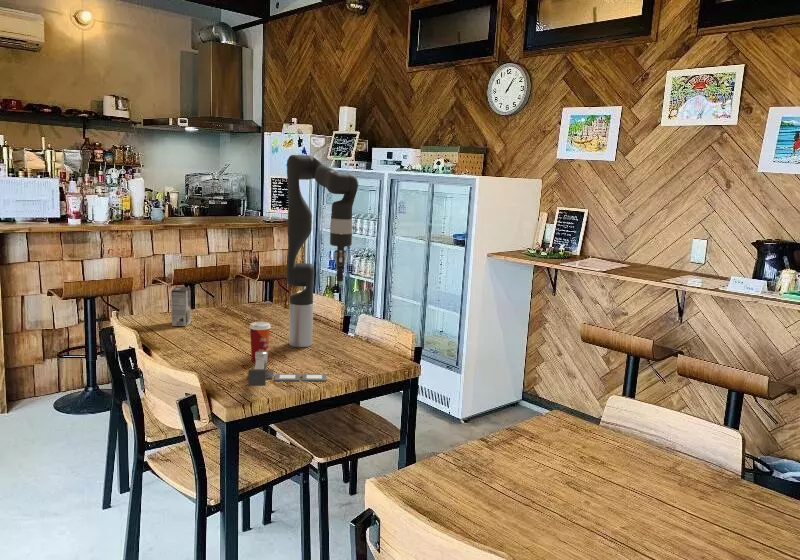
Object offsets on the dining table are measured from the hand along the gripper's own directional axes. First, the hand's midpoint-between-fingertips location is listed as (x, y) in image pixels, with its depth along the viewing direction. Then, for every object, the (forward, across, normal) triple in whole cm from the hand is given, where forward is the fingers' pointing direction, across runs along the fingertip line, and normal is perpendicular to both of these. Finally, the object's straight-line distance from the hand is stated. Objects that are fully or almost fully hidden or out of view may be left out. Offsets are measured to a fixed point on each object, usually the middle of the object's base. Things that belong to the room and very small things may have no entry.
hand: (339, 280), depth 214 cm
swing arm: (+28, +17, -26) cm, 42 cm away
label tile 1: (+32, +11, -17) cm, 38 cm away
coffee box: (+32, -60, -67) cm, 96 cm away
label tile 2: (+32, +11, -8) cm, 35 cm away
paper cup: (+32, -8, -28) cm, 43 cm away
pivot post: (+32, +8, -26) cm, 42 cm away
